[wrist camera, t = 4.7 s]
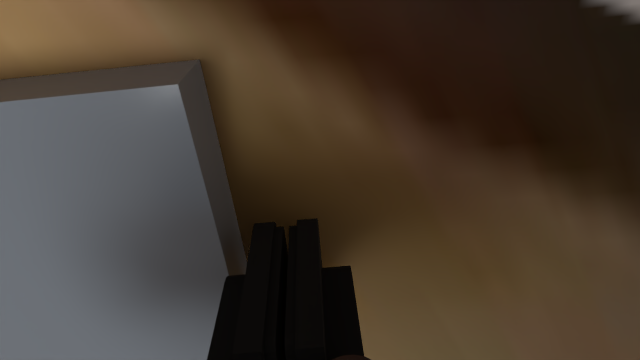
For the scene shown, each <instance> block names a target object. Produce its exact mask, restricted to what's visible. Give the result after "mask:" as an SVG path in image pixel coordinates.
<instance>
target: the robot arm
mask: <svg viewBox="0 0 640 360" xmlns="http://www.w3.org/2000/svg"><path fill="white" fill-rule="evenodd" d="M207 360H371V359H369V358H367V357H364V352H363V346H362V339H361V332H360V325H359V319H358V312H357V305H356V298H355V292H354V285H353V278H352V272H351V266H340V267H328V268H322V260H321V249H320V239H319V228H318V219H317V218H316V219H304V220H297V226H290V227H289V248H288V251H287V245H286V238H285V231H284V227H277V226H276V223H275V222H268V223H255V224H254V227H253V232H252V238H251V244H250V250H249V256H248V262H247V268H246V274H243V275H231V276H227V277H226V279H225V282H224V287H223V291H222V295H221V300H220V304H219V309H218V313H217V318H216V322H215V326H214V331H213V335H212V340H211V344H210V348H209V353H208V357H207Z"/></svg>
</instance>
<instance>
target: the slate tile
mask: <svg viewBox="0 0 640 360" xmlns="http://www.w3.org/2000/svg"><path fill="white" fill-rule="evenodd" d="M246 268H247V260H246V256H245V251H244V247H243V243H242V239H241V234H240V230H239V226H238V222H237V217H236V213H235V209H234V204H233V200H232V196H231V192H230V187H229V183H228V179H227V175H226V170H225V166H224V162H223V158H222V153H221V149H220V145H219V140H218V136H217V132H216V128H215V123H214V119H213V115H212V111H211V106H210V102H209V98H208V93H207V89H206V85H205V81H204V76H203V72H202V68H201V64H200V60H190V61H180V62H170V63H160V64H150V65H141V66H131V67H121V68H111V69H101V70H92V71H82V72H72V73H62V74H52V75H42V76H33V77H23V78H13V79H3V80H0V360H207V357H208V353H209V348H210V344H211V340H212V335H213V331H214V326H215V322H216V318H217V313H218V309H219V304H220V300H221V295H222V291H223V287H224V282H225V279H226V277H227V276H231V275H243V274H246Z"/></svg>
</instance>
